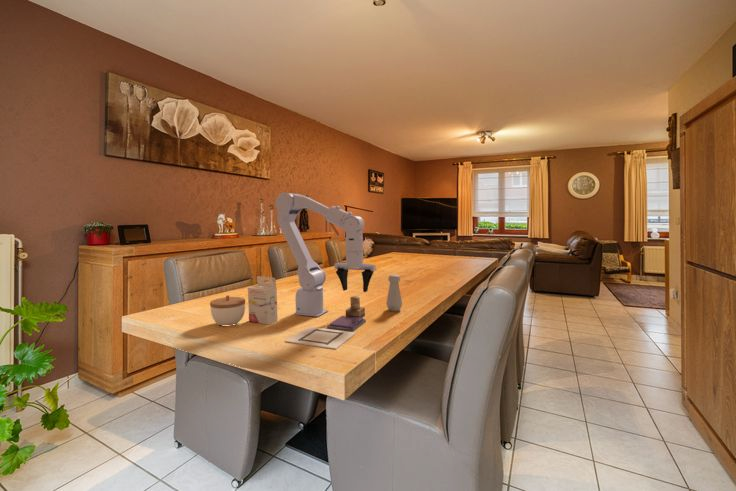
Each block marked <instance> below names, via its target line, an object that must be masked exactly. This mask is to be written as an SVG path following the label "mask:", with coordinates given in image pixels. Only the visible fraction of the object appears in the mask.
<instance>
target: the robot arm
mask: <svg viewBox="0 0 736 491" xmlns="http://www.w3.org/2000/svg"><path fill="white" fill-rule="evenodd" d="M274 206H275V208H276V214H277V215H276V217H277V223H278V226H279V227H280V231H281V232H282V234H283V237H284V238H285V241H286V242H287V244H288V247H289V250H291V253H292V255H293V258H294V260H295V262H296V265H297V266H298V268H297V270H296V274H297V277H298V283H299V286H300V288H298V289H297V290H296V292H295V312H294V315H297V316H308V317H316V318H317V317H320V316H322V315H323V314H325V313H328V312H329V309H324V283H325V281H326V279H327V275H326V272H325V271H324V270H323V269H321V267H320V266H319V264H318V262H315V261H314V260H313V257H312V256H311V254H310V251H309V250H308V248H307V245H306V244H305V240H304V239H303V237H302V235H301V233H300V230H299V228H298V226H297V225H296V222H295V221H296V218H297V216H298V215H299V214H300V213H301V211H302V210H303V209H308V210H310V211H312V212H314V213H316V214H319V215H321V216H324V217H325V220H326V221H327V222H328V223H330V224H333V225H334V226H337V227H339V228H341V229H343V230H344V232H345V255H346V256H345V257H346V258H345V260H346V261H345V262H336V263H334V270H336V271H335V274H336V275H337V277H338V279H339V281H340V284H341V287H342V291H347V290H348V276H349V270H351V271H353V270H354V271H355V270H356V271H361V276H362V283H363V284H362V292H363V293H366V292H368V290H369V286H370V282H371V279H372V276H373V275H374V272H375V271H376V269H377V267H376V266H377V265H376V264H370V263H364V244H363V243H364V240H363V239H364V238H363V237H364V236H363V233H364V232H363V230H364V228H365V226H366V225H365V224H366V223H365V220H364V219H363V217H361V216H360V215H358V214H357V215H353V212H352V211H346V210H344V209H342V206H339V205H336V206H335V205H332V206H330V207H328V206H327V205H324V204H323V203H321V202H318V201H316V200H314V199H312V198H311V197H308V196H307V195H303V194H301V193H292V192H290V193H289V192H281V193H279V194H278V196H277V198H276V200H275V203H274Z"/></svg>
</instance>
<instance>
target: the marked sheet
mask: <svg viewBox="0 0 736 491" xmlns="http://www.w3.org/2000/svg"><path fill="white" fill-rule="evenodd" d="M356 334H357V332H355V331H346V330H338V329H330V328H322V327H315V326H308V327H306V328H305V329H303V330H301V331H299V332H297V333H296V334H295V335H292V336H290V337H289V338H287V339H285V340H284V342H285V343H290V344H292V343H293V344H296V345H304V346H305V345H306V346H312V347H318V348H324V349H331V350H337V349H339V348H340V347H341V346H342V345H344V344H345V343H346V342H347V341H349V340H350V339H351V338H352V337H353V336H355V335H356Z"/></svg>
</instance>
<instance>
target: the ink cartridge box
mask: <svg viewBox="0 0 736 491" xmlns="http://www.w3.org/2000/svg"><path fill="white" fill-rule="evenodd" d="M256 280H257V284H255V285H252V286H248V287H247V299H248V301H247V302H248V303H247V304H248V306H247V307H248V322H249V321H252V322H251V323H255V322H257V324H261V323H262V325H267V324H268V325H271V324H272V323H275V322H277V321H278V295H277V292H278V290H277V289H278V287H277V283H276V282H277V280H276V278H275V277H269V276H256ZM268 325H267V326H268Z"/></svg>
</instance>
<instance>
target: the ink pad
mask: <svg viewBox="0 0 736 491" xmlns="http://www.w3.org/2000/svg"><path fill="white" fill-rule="evenodd" d="M366 322H367V321H366V319H365V318H364V317H362V318H357V317H348V316H346V315H341V316H339V317H338V318H336V319H334V320H333V321H331V322H330V323H329V324H327V325H326V329H331V330H339V331H347V332H355V331H356V330H357V329H359V328H360V327H361V326H362V325H364V324H365V323H366Z"/></svg>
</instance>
